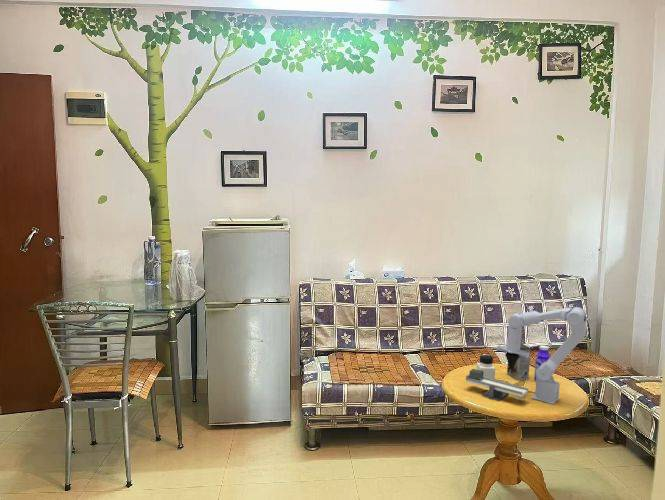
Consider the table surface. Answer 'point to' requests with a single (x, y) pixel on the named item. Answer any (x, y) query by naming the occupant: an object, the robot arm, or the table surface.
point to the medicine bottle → (486, 366)
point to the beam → (501, 386)
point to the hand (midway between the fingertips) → (511, 368)
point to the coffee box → (521, 365)
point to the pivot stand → (495, 394)
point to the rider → (476, 374)
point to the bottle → (541, 357)
